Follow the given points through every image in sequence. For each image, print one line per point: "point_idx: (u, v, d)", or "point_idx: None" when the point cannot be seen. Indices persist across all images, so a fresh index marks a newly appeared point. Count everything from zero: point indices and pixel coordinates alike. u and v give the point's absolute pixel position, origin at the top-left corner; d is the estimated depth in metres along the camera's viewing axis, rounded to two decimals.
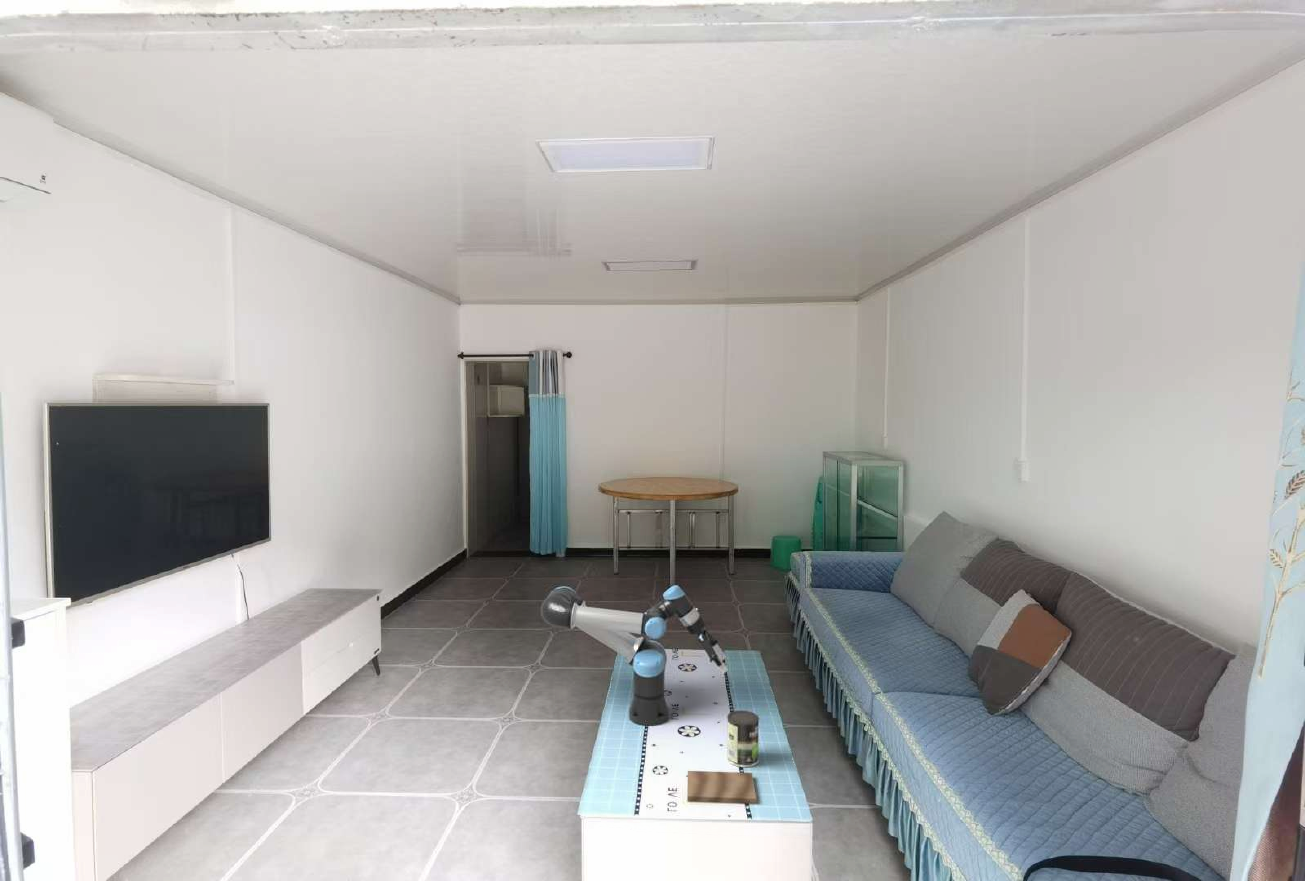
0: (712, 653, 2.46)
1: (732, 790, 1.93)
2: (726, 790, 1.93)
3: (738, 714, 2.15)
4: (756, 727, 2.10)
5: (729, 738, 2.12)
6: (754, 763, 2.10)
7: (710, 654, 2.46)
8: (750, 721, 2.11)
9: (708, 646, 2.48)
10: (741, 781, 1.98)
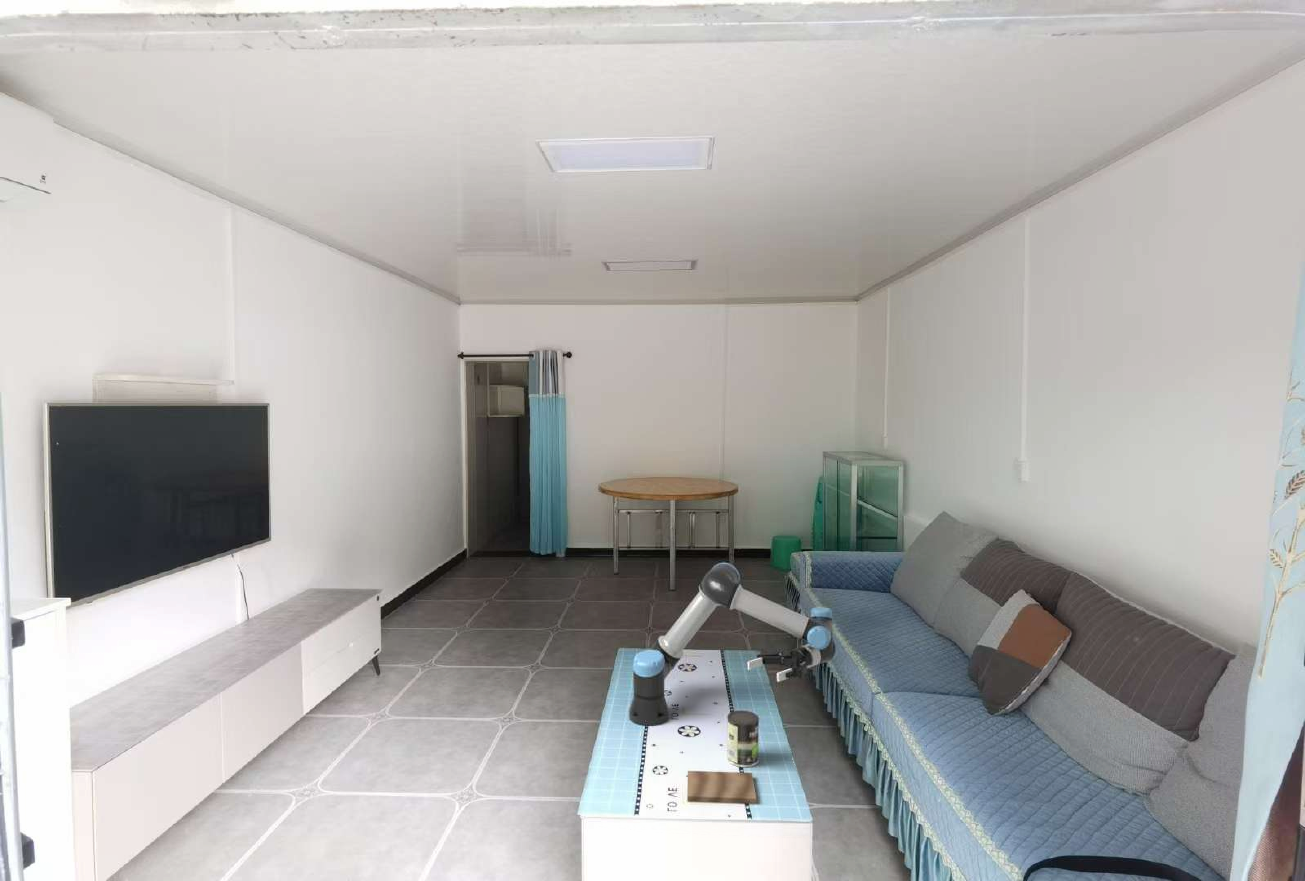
0: (803, 674, 2.17)
1: (732, 790, 1.93)
2: (726, 790, 1.93)
3: (738, 714, 2.15)
4: (756, 727, 2.10)
5: (729, 738, 2.12)
6: (754, 763, 2.10)
7: (803, 672, 2.17)
8: (750, 721, 2.10)
9: (805, 672, 2.20)
10: (741, 781, 1.98)
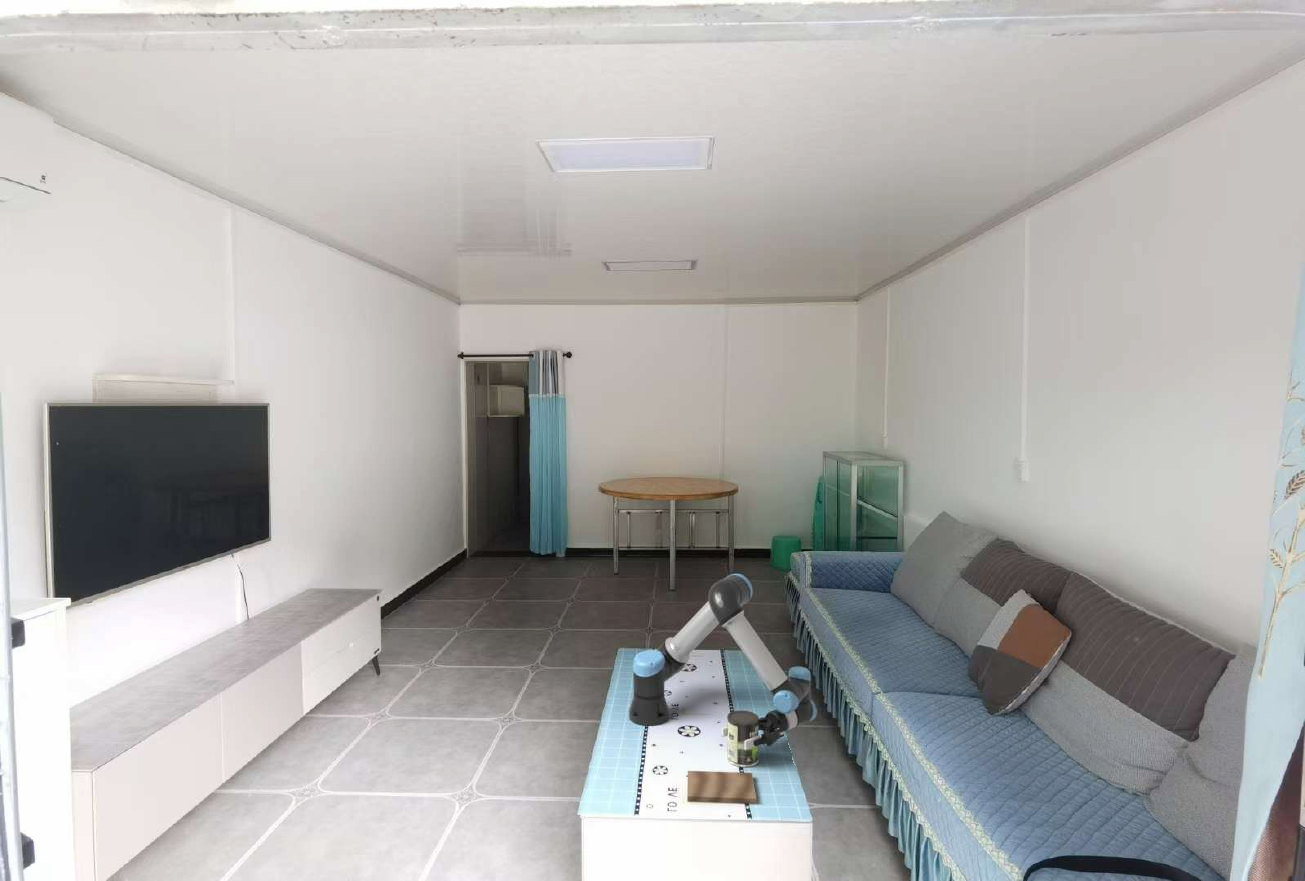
0: (772, 742, 2.10)
1: (732, 790, 1.93)
2: (726, 790, 1.93)
3: (738, 714, 2.15)
4: (756, 727, 2.10)
5: (729, 738, 2.12)
6: (754, 763, 2.10)
7: (772, 739, 2.10)
8: (750, 721, 2.11)
9: (776, 739, 2.12)
10: (741, 781, 1.98)
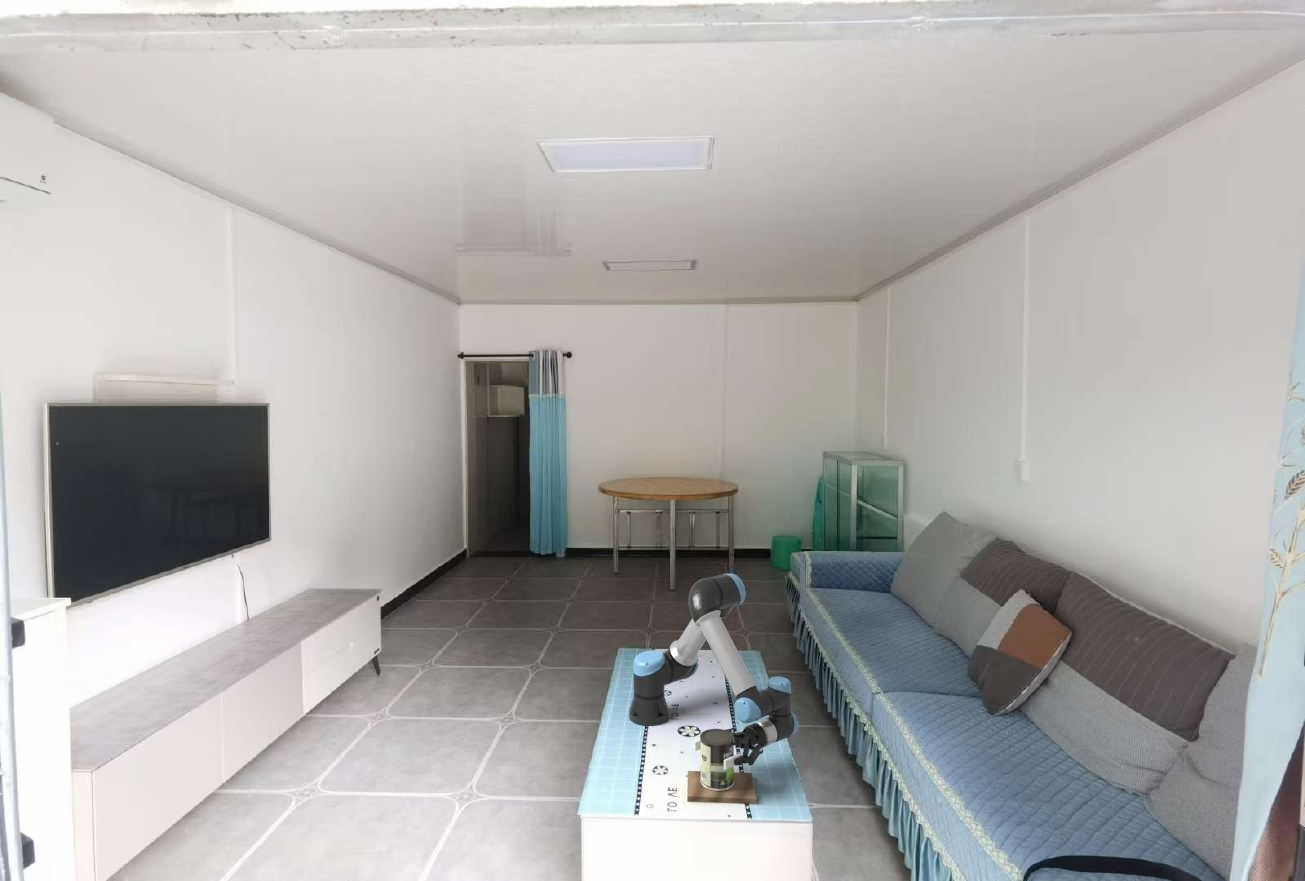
0: (753, 761, 1.93)
1: (732, 790, 1.93)
2: (726, 790, 1.93)
3: (711, 733, 1.99)
4: (731, 747, 1.94)
5: (702, 759, 1.95)
6: (729, 786, 1.93)
7: (753, 758, 1.93)
8: (724, 741, 1.94)
9: (756, 756, 1.96)
10: (741, 781, 1.98)
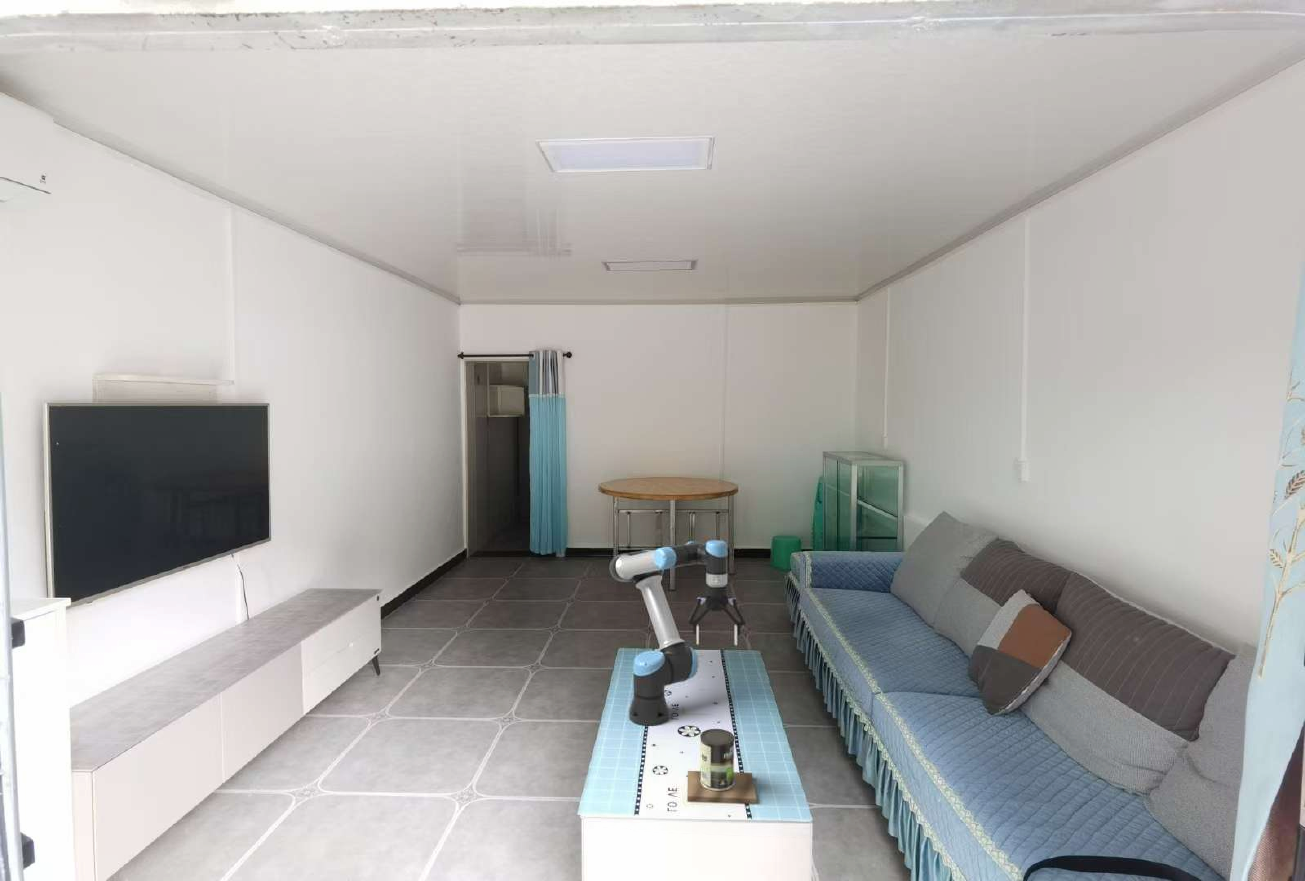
0: (690, 617, 2.32)
1: (732, 790, 1.93)
2: (726, 790, 1.93)
3: (712, 733, 1.99)
4: (731, 747, 1.94)
5: (702, 759, 1.95)
6: (729, 786, 1.93)
7: (690, 616, 2.33)
8: (724, 741, 1.94)
9: (693, 610, 2.32)
10: (741, 781, 1.98)
